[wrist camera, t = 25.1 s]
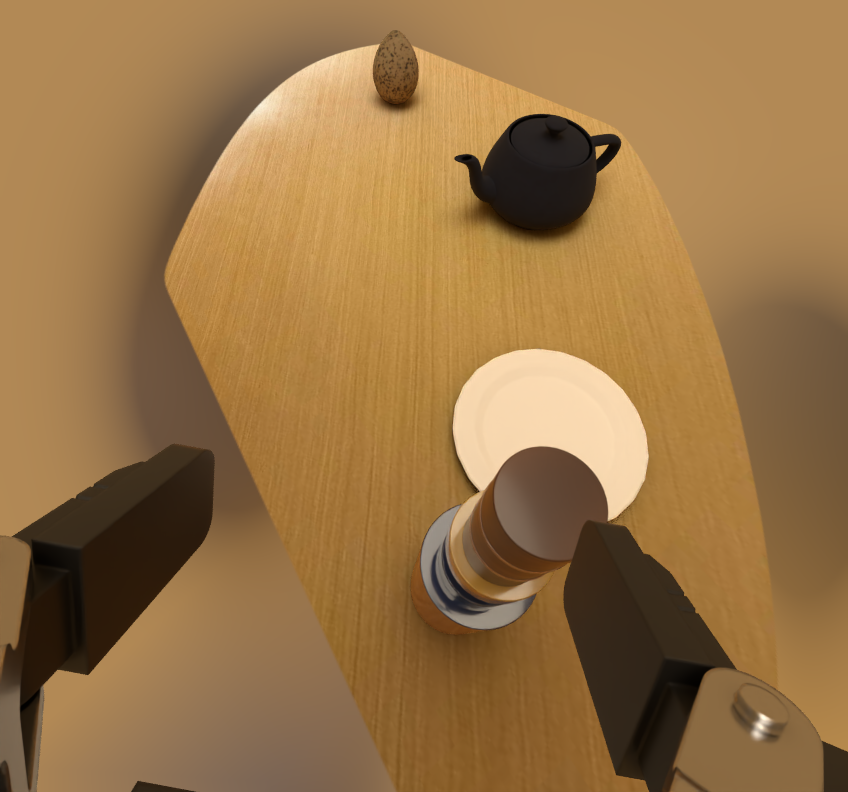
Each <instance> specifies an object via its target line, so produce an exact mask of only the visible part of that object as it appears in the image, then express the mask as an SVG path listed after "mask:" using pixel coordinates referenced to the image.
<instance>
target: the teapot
mask: <svg viewBox="0 0 848 792" xmlns="http://www.w3.org/2000/svg"><path fill="white" fill-rule="evenodd" d="M602 145H609V146H608V147H607V149H606V150H605V151H604V152H603V154H602V155H601V156H600V157H599V158H598V159H597V160H596V151H595V147H596V146H602ZM620 147H621V140H620V138H619V137H618V136H616V135H614V134H603V135H596V136H591V137H590V135H589V134H588V133H587V132H586V131H585V130H584V129H583V128H582V127H581V126H579V125H578V124H576V123H574V122H573V121H571V120H568V119H566V118H563V117H560V116H556V115H550V114H533V115H528V116H524V117H521V118H519V119H517V120H516V121H514V122H513V123H512V124H511V125H510V126H509V127H508V128H507V129H506V130H505V132H504V133H503V134H502V135H501V137H500V138H499V139H498V141H497V142H496V143H495V145H494V146H493V148H492V149H491V151H490V153H489V154H488V156H487V158H486V161H485V163H484V166H483V169H482V170H481V166H480V163H479V161H478V159H477V158H476V157H475V156H473V155H470V154H463V155H458V156H456V157H455V158H454V159H455V160H456V161H458V162H461V163H464V164H465V165H466V166H467V167H468V169H469V177H470V184H471V188H472V190H473V192H474V194H475V195H476V196H477V197H478V198H479V199H480V200H482V201H484V202H487V203H489V204H490V205H491V207H492V208H493V209H494V210H495V211H496V212H497V213H498V214H499V215H500V216H502V217H503V218H504V219H505V220H507V221H508V222H510V223H512V224H514V225H516V226H518V227H521V228H525V229H530V230H546V229H553V228H558V227H561V226H564V225H567V224H569V223H571V222H573V221H575V220H576V219H578V218H579V217H580V216H581V215H582V214H583V213H584V212H585V211H586V210H587V208H588V207H589V205H590V203H591V201H592V198H593V195H594V191H595V186H596V175H597V173H598V172H599V171H601V170H602V169H603V168H604V167H605V166H606V165H608V164H609V163H610V162H611V160H612V159H613V158H614V157H615V156H616V154H617V153H618V151H619V149H620Z"/></svg>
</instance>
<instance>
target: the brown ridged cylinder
mask: <svg viewBox="0 0 848 792" xmlns="http://www.w3.org/2000/svg"><path fill="white" fill-rule="evenodd" d="M587 520H594V521H599V522H605V523H607V522H608V503H607V498H606V495H605V491H604V489H603V487H602V484H601V483H600V481H599V479H598V478H597V476H596V475H595V473H594V472H593V471H592V470H591V469H590V468H589V466H588V465H586V464H585V463H584V462H583V461H582V460H580V459H579V458H578V457H576V456H574V455H573V454H571V453H569V452H567V451H564V450H561V449H558V448H554V447H547V446H538V447H531V448H526V449H524V450H521V451H519V452H517V453H515V454H514V455H512V456H511V457H510V458H508V459H507V460H506V461H505V462H504V464H503V465H502V466H501V468H500V469H499V471H498V472H497V474H496V475H495V477H494V478H493V480H492V481H491V482H490V483H489V484H488V486H487V487H486V489H485V491H484V493H483V495H482V497H481V498H480V499H479V500H478V502H477V503H476V505H475V507H474V508H473V511H472V513H471V514H470V516H469V517H468V519H467V521H466V524H465V526H464V530H463V537H462V539H463V549H464V553H465V556H466V558H467V560H468V562H469V564H470V566H471V567H472V568H473V570H474V571H475V572H476V573H477V574H478V575H479V576H480V577H482V578H483V579H485V580H486V581H488V582H490V583H492V584H495V585H498V586H504V587H512V586H518V585H521V584H523V583H526V582H528V581H531V580H535V579H537V578H540V577H542V576H543V575H545V574H547V573H549V572H553V571H555V570H558V569H560V568H562V567H563V566H565V565H566V564H568V563H570V562H571V561H572V558H573V555H574V552H575V549H576V545H577V542H578V539H579V536H580V532H581V529H582V527H583V525H584V523H585V522H586V521H587Z"/></svg>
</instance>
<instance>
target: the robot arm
mask: <svg viewBox="0 0 848 792" xmlns="http://www.w3.org/2000/svg"><path fill="white" fill-rule="evenodd" d="M213 485H214V455H213V453H212V451H210V450H207V449H201V448H196V447H190V446H185V445H179V444H172V445H170V446H169V447H167V448H165V449H164V450H163V451H161V452H160V453H158V454H157V455H155V456H154V457H152V458H151V459H149V460H148V461H146V462H139V463H136V464H133V465H130V466H127V467H125V468H122V469H118V470H116V471H114V472H112V473H110V474H109V475H107V476H106V477H104V478H103V479H101V480H100V481H98V482H96V483H95V484H94V486H93V487H89V488H87V489H85V490H84V491H82V492H81V493H79V494H78V495H77V496H76V498H75V499H74V498H71V499H70V500H68V501H67V502H65V503H64V504H62V505H60V506H59V507H57V508H56V509H54V510H53V511H51V512H50V513H48V514H47V515H45V516H43V517H42V518H40V519H39V520H37V521H35V522H34V523H32V524H31V525H29V526H28V527H26V528H25V529H23V530H21V531H20V532H18V533H17V534H15V535H14V536H12V537H9V536H0V792H37V780H38V768H39V756H40V744H41V732H42V720H43V707H44V689H43V684H44V683H45V682H46V681H47V680H48V679H49V678H50V677H51V676H52V675H53V674H54V672H56V671H57V670H64V671H69V672H74V673H80V674H85V675H89V674H90V672H91V671H92V670H93V669H94V668H95V667H96V665H97V664H98V663H99V662H100V661H101V660H102V658H103V657H104V656H105V655H106V654H107V653H108V652H109V650H110V649H111V648H112V647H113V646H114V645H115V644H116V642H117V641H118V640H119V639H120V638H121V636H122V635H123V634H124V633H125V632H126V631H127V630H128V628H129V627H130V626H131V625H132V624H133V623H134V622H135V620H136V619H137V618H138V617H139V616H140V614H142V612H143V611H144V610H145V609H146V608H147V607H148V605H149V604H150V603H151V602H152V601H153V600H154V599H155V597H156V596H157V595H158V594H159V593H160V592H161V590H162V589H163V588H164V587H165V586H166V585H167V583H168V582H169V581H170V580H171V579H172V578H173V577H174V575H175V574H176V573H177V572H178V571H179V570H180V568H181V567H182V566H183V565H184V564H185V563H186V562H187V560H188V559H189V558H190V557H191V556H192V554H193V553H194V552H195V551H196V550H197V549H198V548H199V547H200V545H201V544H202V543H203V541H204V539H205V537H206V535H207V533H208V531H209V528H210V525H211V520H212V510H213V509H212V508H213ZM564 609H565V614H566V617H567V620H568V623H569V626H570V629H571V633H572V636H573V639H574V642H575V645H576V649H577V652H578V655H579V658H580V661H581V664H582V668H583V671H584V674H585V677H586V680H587V683H588V687H589V690H590V693H591V696H592V699H593V703H594V706H595V709H596V712H597V715H598V718H599V722H600V725H601V728H602V731H603V734H604V737H605V741H606V744H607V747H608V750H609V753H610V757H611V760H612V763H613V766H614V769H615V772H616V775H619V776H624V777H629V778H635V779H640V780H645V781H646V784H647V787H648V789H649V792H848V752H847V751H844V750H842V749H840V748H837V747H835V746H833V745H830V744H828V743H826V742H823V741H821V739H820V736H819V734H818V732H817V730H816V729H815V727H814V726H813V724H812V723H811V721H810V720H809V719H808V718H807V717H806V715H805V714H804V713H803V712H802V711H801V710H800V709H799V708H798V707H797V706H796V705H795V704H794V703H793V702H792V701H791V700H789V699H788V698H787V697H786V696H784V695H783V694H782V693H780V692H779V691H778V690H776V689H775V688H773V687H772V686H770V685H769V684H767V683H765V682H764V681H762V680H760V679H758V678H756V677H754V676H752V675H749V674H747V673H745V672H742V671H739V670H737V669H736V668H735V666H734V665H733V663H732V662H731V660H730V659H729V658H728V656H727V655H726V653H725V652H724V650H723V649H722V647H721V646H720V644H719V643H718V641H717V640H716V639H715V637H714V636H713V634H712V633H711V631H710V630H709V628H708V627H707V625H706V624H705V622H704V621H703V620H702V618H701V617H700V615H699V614H697V613H695V608H694V606H693V605H692V603H691V602H690V601H689V599H688V598H687V597H686V596H684V592H683V590H682V589H681V587H680V586H679V585H678V583H677V582H676V580H675V579H674V577H673V576H672V574H671V573H670V572H669V571H668V570H667V569H665V568H664V567H663V566H662V565H661V564H660V563H658V562H657V561H656V560H655V559H654V558H653V557H651V556H650V555H648V554H644V553H643V552H642V550H641V549H640V547H639V546H638V544H637V543H636V541H635V539H634V538H633V536H632V535H631V533H630V532H629V530H628V529H627V528H626V527H625V526H621V525H616V524H610V523H605V522H599V521H594V520H587V521H586V522H585V523H584V525H583V527H582V529H581V532H580V536H579V539H578V542H577V545H576V549H575V552H574V555H573V558H572V561H571V565H570V568H569V571H568V574H567V578H566V581H565V586H564ZM131 792H194V791H189V790H184V789H178V788H172V787H167V786H162V785H157V784H151V783H146V782H141V781H137V783H136V785H135V786H134V788H133V790H132V791H131Z"/></svg>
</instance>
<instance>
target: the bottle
mask: <svg viewBox="0 0 848 792" xmlns="http://www.w3.org/2000/svg"><path fill="white" fill-rule="evenodd" d="M484 491H485V490H483V491H480V492H478V493H476V494H474V495H473V496H471V497H470V498H468V499H467V500H466V501H465V502H464V503H463V504H461V505H457V506H455V507H453V508H451V509H449V510H447V511H446V512H444V513H443V514H442V515H440V516H439V517H438V518H437V519H436V520H435V521H434V523H433V524H432V525H431V527H430V528H429V530H428V532H427V534H426V536H425V538H424V541H423V544H422V546H421V549H420V552H419V555H418V558H417V561H416V563H415V566H414V569H413V572H412V576H411V584H410V587H411V597H412V600H413V603H414V606H415V608H416V610H417V612H418V614H419V615H420V616H421V618H422V619H423V620H424V621H425V622H426V623H427V624H428V625H429V626H431V627H432V628H434V629H435V630H437V631H440V632H442V633H446V634H452V635H460V634H467V633H474V632H481V631H488V630H494V629H499V628H502V627H505V626H507V625H509V624H511V623H513V622H514V621H516V620H517V619H519V618H520V617H521V616H522V615H523V614H524V613H525V612H526V611H527V610H528V608H529V607H530V606H531V604H532V602H533V600H534V599H535V596H536V594H537V593H538V592H539V591H541V590H542V589H543V588H544V587H545V586H546V585H547V583H548V582H549V581H550V579H551V577H552V576H553V574H554V571H553V572H549V573H547V574H545V575H543V576H542V577H540V578H537V579H535V580H531V581H528V582H526V583H523V584H521V585H518V586H512V587H504V586H498V585H495V584H492V583H490V582H488V581H486V580H485V579H483V578H482V577H480V576H479V575H478V574H477V573H476V572H475V571H474V570H473V568H472V567H471V566H470V564H469V562H468V560H467V558H466V556H465V553H464V549H463V539H462V537H463V530H464V526H465V524H466V521H467V519H468V517H469V516H470V514H471V513H472V511H473V508H474V507H475V505H476V503H477V502H478V500H479V499H480V498H481V497H482V495H483V493H484Z"/></svg>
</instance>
